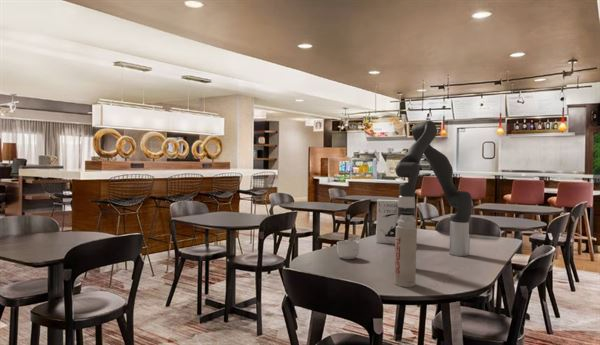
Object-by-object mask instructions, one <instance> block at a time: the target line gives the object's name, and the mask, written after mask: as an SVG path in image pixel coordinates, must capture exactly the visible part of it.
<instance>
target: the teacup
mask: <svg viewBox="0 0 600 345" xmlns="http://www.w3.org/2000/svg"><path fill="white" fill-rule="evenodd" d="M359 243H360V242H359V241H357V240H349V239H345V240H340V241H337V242H336V251H337V255H338V256H339V257H340V258H341V259H343V260H353V259H355V258H356V257H358V255H359V253H360V250H359V248H360V244H359Z"/></svg>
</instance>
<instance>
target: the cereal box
mask: <svg viewBox="0 0 600 345" xmlns="http://www.w3.org/2000/svg"><path fill="white" fill-rule="evenodd" d="M415 219H416V215H415V216H414V217H413V220H414V221H415V222H416V220H415ZM398 220H400V217H399V216H398V199H376V234H375V235H376V236H375V243H376V242H378V243H377V244H390V243H392V245H395V239H396V226H398V223H397V222H398Z"/></svg>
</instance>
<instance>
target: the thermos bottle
mask: <svg viewBox="0 0 600 345" xmlns="http://www.w3.org/2000/svg"><path fill="white" fill-rule="evenodd" d="M400 214H401V216H400V220H398V222H397V223H398V226H396V239H395V244H394V246H395V248H394V249H395V250H394V252H395V254H394V255H395V256H394V274H393V275H394V278H393V281H394V282H393V283H394V285H396V286H398V287H403V288H404V287H405V288H411V287H414V286H416V275H417V274H416V273H417V272H416V270H417V269H416V265H417V262H416V261H417V242H418V241H417V240H418V238H417V236H418V235H417V234H418V228H417V226H416V225H417V224H416V220H415V221H414V220H413V213H411V212H401V213H400Z"/></svg>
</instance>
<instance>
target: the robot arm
mask: <svg viewBox="0 0 600 345" xmlns="http://www.w3.org/2000/svg"><path fill="white" fill-rule="evenodd" d="M437 128H438V127H437V125H436V124H435V122H434V121H433V120H426V121H423V122H419V123H417V124H415V125H412V127H411V135H412V137H413V139H414V141H415V142H414V143H412V145H411V146H410V147H409V149H408V150H407V152H406V154H405V155H404V156H403V157H402V158H401V159H400V160H399V161H397V164H396V166H395V174H396V175H397V177H399V178H405V179H409V180H408V181H407V182H401V183H400V184H399V186H398V199H397V200H398V216H399V217H400V216H401V214H400V213H401V212H411V213H413V217H414V216H415V217H416V197H415V196H416V185H417V182H418V178H419V175H420V172H421V167H420V165H419V164H420V162H421V160H422V158H423V155H424V156H425V158H426V160H427V162H428V164H429V166H430V168H431V170H432V171H433V174H434V175H435V176H436V177H435V178H436V180H437V181H438V182H439V185H440V186H441V190H442V191H443V194H444V196H445V198H446V201H447V203H448V205H449V206H450V207H451V208H455V209H456V212H455V213H454V214H452V215H450V218H449V219H450V220H449V248H448V250H449V251H448V252H449V255H452V256H456V257H457V256H458V257H466V256H469V255H470V252H471V251H470V250H471V249H470V248H471V246H470V245H471V237H470V236H469V233H470V232H469V231H470V230H469V229H470V227H469V226H470V218H471V216H472V205H473V199H472V198H473V197H472V195H471V193H470V192H468V191H464V190H458V189H457V187H456V185H455V184H454V181H453V176H454V170H453V166H452V164H451V162H450V160H449V159H448V157H447V156H446V155H445V154H444V153H443V152H441V151H439V150H437V149H436V148H435V147H433V146H432V145H431V143H432V142H433V140H435V138H436V137H437V133H438V129H437Z"/></svg>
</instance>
